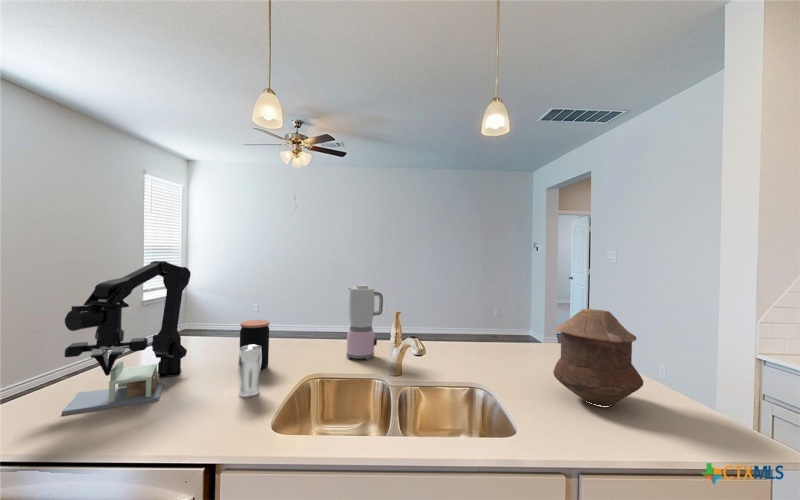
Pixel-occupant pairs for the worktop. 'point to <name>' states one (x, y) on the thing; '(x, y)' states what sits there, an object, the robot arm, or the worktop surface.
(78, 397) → the grey base plate
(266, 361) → the coffee jar
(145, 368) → the hood
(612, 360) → the pottery vessel
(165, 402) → the worktop surface
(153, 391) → the sleeve
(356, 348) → the blender
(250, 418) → the worktop surface
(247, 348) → the beer glass
